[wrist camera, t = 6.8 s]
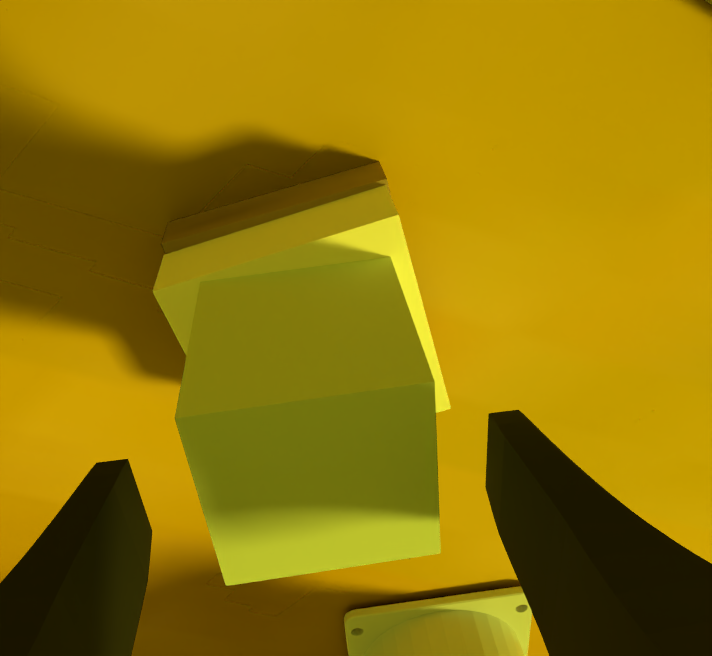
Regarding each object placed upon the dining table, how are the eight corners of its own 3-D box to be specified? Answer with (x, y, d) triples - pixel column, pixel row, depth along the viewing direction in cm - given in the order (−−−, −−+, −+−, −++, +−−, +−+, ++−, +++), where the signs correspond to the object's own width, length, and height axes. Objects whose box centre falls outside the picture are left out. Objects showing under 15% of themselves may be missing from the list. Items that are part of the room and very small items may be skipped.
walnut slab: (418, 329, 22) (431, 364, 20) (243, 378, 22) (240, 416, 20) (376, 154, 19) (386, 178, 17) (171, 214, 19) (160, 243, 17)
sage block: (400, 405, 18) (440, 553, 14) (236, 428, 18) (225, 586, 14) (390, 256, 16) (435, 381, 12) (200, 281, 16) (174, 418, 11)
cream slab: (435, 367, 20) (450, 408, 18) (247, 423, 20) (245, 468, 19) (385, 184, 17) (398, 214, 15) (163, 254, 17) (152, 291, 16)
